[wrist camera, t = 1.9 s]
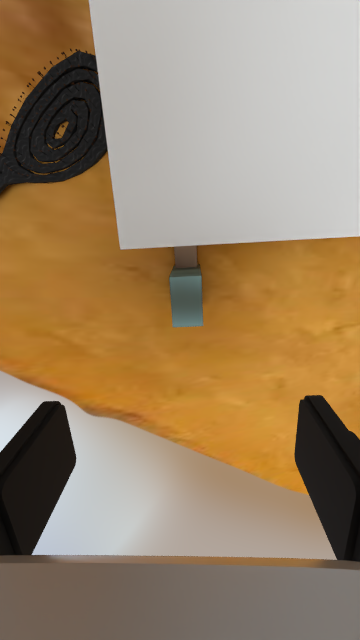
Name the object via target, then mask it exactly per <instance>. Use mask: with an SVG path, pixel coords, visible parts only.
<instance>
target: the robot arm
mask: <svg viewBox="0 0 360 640" xmlns="http://www.w3.org/2000/svg"><path fill="white" fill-rule="evenodd" d="M295 462H296V465H297V468H298V470H299V472H300V474H301V477H302V479H303V481H304V484H305V486H306V488H307V491H308V493H309V495H310V498H311V500H312V502H313V505H314V507H315V509H316V512H317V514H318V516H319V518H320V521H321V523H322V526H323V528H324V530H325V532H326V535H327V537H328V540H329V542H330V544H331V547H332V549H333V551H334V553H335V556H336V558H337V560H324V559H298V558H297V559H296V558H253V557H198V556H196V557H195V556H115V555H32V553H33V550H34V549H35V546H36V545H37V542H38V540H39V538H40V536H41V534H42V532H43V530H44V528H45V526H46V524H47V522H48V520H49V518H50V516H51V514H52V512H53V510H54V508H55V506H56V504H57V502H58V500H59V497H60V495H61V493H62V491H63V489H64V487H65V485H66V483H67V481H68V479H69V477H70V474H71V473H72V471H73V469H74V467H75V463H76V454H75V450H74V445H73V441H72V437H71V432H70V427H69V423H68V419H67V414H66V410H65V406H64V405H61V403H60V402H59V401H46V402H43V403H42V404H41V405H40V406H39V407H38V408H37V410H36V411H35V412H34V413H33V414H32V416H31V417H30V418H29V419H28V420H27V421H26V423H25V424H24V425H23V426H22V428H21V429H20V430H19V431H18V432H17V433H16V435H15V436H14V437H13V438H12V439H11V441H10V442H9V443H8V444H7V445H6V446H5V448H4V449H3V450H2V451H1V452H0V640H360V440H359V438H358V437H357V436H356V435H355V434H354V433H353V432H351V431H349V430H348V429H347V428H346V426H345V425H344V424H343V422H342V421H341V420H340V418H339V417H338V416H337V414H336V413H335V412H334V410H333V409H332V408H331V407H330V405H329V404H328V403H327V401H326V400H325V399H324V397H323V396H321V395H312V396H305V398H304V400H300V403H299V413H298V424H297V434H296V444H295Z"/></svg>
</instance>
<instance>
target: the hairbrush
mask: <svg viewBox="0 0 360 640" xmlns="http://www.w3.org/2000/svg"><path fill="white" fill-rule="evenodd" d="M70 51H72V50H71V49H70ZM76 51H77V49H76ZM85 52H86V53H84V52H81V51H80V50H79V51H77V52H76V53H73V55H71V56H69V57H68V58H66V57H67V56H66V55H65V53H64V52H63V53H61V54H64V55H65V56H66V57H65V58H66V59H65V60H63V61H60V63H58V64H57V65H55V66H54V65H53V67H52V68H51V69H50V70H49V71H48V73H47V74H46V75H45V76H43V75H42V74H41V73H40V71H39V72H37V73H38V74H39V75H40V74H41V75H42V76H43V77H42V76H41V75H40V76H41V77H42V78H43V79H42V80H41V81H40V82H39V83H38V85H37V86H36V87H35V88H34V87H33V86H32V85H31V84H30V83H29V85H31V86H32V87H33V88H34V89H33V91H32V92H31V93H30V94H29V95H28V97H27V98H26V99H25V101H24V103H23V105H22V107H21V109H20V110H19V112H18V114H17V116H16V118H15V117H14V116H13V115H12V114H10V115H11V116H13V117H14V118H15V120H14V122H13V124H12V125H11V124H10V125H11V129H10V132H9V135H8V138H7V141H6V144H5V148H4V151H3V153H2V154H1V153H0V193H1V192H2V191H3V190H4V189H5V188H6V187H7V186H8V185H12V184H19V183H26V182H30V183H46V182H53V183H54V182H60V181H65V180H67V179H70V178H72V177H75V176H77V175H80V174H82V173H83V172H85V171H86V170H87V169H89V168H90V167H92V166H93V165H94V164H96V163H97V162H98V161H99V160H100V159H101V157H102V156H103V155H104V154H105V153H106V152H107V150H108V148H107V140H106V132H105V124H104V116H103V109H102V101H101V96H100V93H99V92H98V90H97V89H96V88H95V87H94V85H91V84H95V85H96V86H97V88H98V89H99V90H100V85H99V77H98V75H97V74H96V73H95V72H98V69H97V61H96V56H94V55H91V54H87V51H86V50H85ZM57 59H59V58H58V57H57ZM50 63H51V64H52V62H51V61H50ZM44 69H46V68H45V67H44ZM83 69H86V70H83ZM89 70H91V71H89ZM93 71H95V72H93ZM32 80H33V81H34V79H32ZM83 82H88V83H91V84H87V83H83ZM29 85H27V87H29ZM22 93H23V94H25V93H24V92H22ZM20 97H21V98H22V96H20ZM23 99H24V98H23ZM82 99H83V100H85V101H86V102H87V103H85V102H84V101H77V100H82ZM18 101H20V100H19V99H18ZM20 102H21V101H20ZM87 104H88V105H87ZM64 106H65V107H64ZM63 107H64V108H63ZM14 108H16V107H15V106H14ZM17 110H18V109H17ZM13 111H14V109H13ZM74 112H75V113H74ZM76 114H77V115H78V116H77V115H76ZM40 119H41V120H40ZM39 120H40V121H39ZM66 121H68V122H69V124H68V126H67V128H66V129H65V133H64V135H63V137H62V138H59V139H55V138H54V137H55V134H56V132H57V130H58V128H59V126H60V124H62V123H64V122H66ZM38 122H39V123H38ZM7 123H8V122H7V121H6V124H7ZM8 124H9V123H8ZM10 125H9V126H10ZM63 127H64V125H62V128H63ZM3 131H5V130H4V129H3ZM57 134H59V133H58V132H57ZM59 135H60V134H59ZM84 135H85V136H84ZM60 136H61V135H60ZM1 139H3V138H2V137H1ZM47 143H48V144H49V145H50V146H51V147H52V149H51V148H50V147H48V144H47ZM63 145H64V146H63ZM60 146H63V147H61V148H59V149H58V147H60ZM0 147H1V146H0ZM54 148H55V149H56V148H57V149H56V150H54ZM75 148H76V149H75ZM74 149H75V150H74ZM70 152H71V153H70ZM69 153H70V154H69ZM33 155H34V156H35V157H36V158H37V160H38V161H42V162H54V161H58V160H60V159H61V160H60V161H59V162H57V163H55V162H54V163H47V164H42V163H40V162H38V161H37V160H36V159H34V158H35V157H34V156H33ZM65 156H66V157H65ZM84 156H85V157H84ZM63 157H64V158H63ZM83 157H84V158H83ZM62 158H63V159H62ZM82 158H83V159H82ZM81 159H82V160H81ZM78 161H79V162H78ZM76 162H77V163H76ZM75 163H76V164H75ZM21 164H22V165H23V166H22V165H21ZM73 164H74V165H73ZM71 165H72V166H71ZM70 166H71V167H70ZM67 167H69V168H68V169H66V170H65V171H61V172H58V171H60V170H63V169H65V168H67ZM28 169H29V170H28ZM30 170H32V171H34V172H36V173H50V174H48V175H39V174H34V173H33V172H31V171H30ZM56 171H57V173H52V172H56Z"/></svg>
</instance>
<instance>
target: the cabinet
mask: <svg viewBox="0 0 360 640" xmlns="http://www.w3.org/2000/svg"><path fill="white" fill-rule="evenodd" d="M89 6H90V14H91V22H92V30H93V38H94V45H95V53H96V61H97V69H98V77H99V85H100V93H101V101H102V109H103V116H104V124H105V132H106V140H107V148H108V156H109V164H110V172H111V180H112V187H113V195H114V203H115V211H116V219H117V227H118V235H119V243H120V250H122V249H139V248H157V247H175V246H193V245H211V244H229V243H247V242H265V241H283V240H300V239H318V238H336V237H354V236H360V0H89Z"/></svg>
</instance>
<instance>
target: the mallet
mask: <svg viewBox="0 0 360 640" xmlns="http://www.w3.org/2000/svg"><path fill="white" fill-rule="evenodd" d="M174 251H175V266H174V267H173V269H172V272H171V274H170V277H169V280H170V294H171V308H172V322H173V327H191V326H203V307H202V276H201V270H200V264H198V265H197V246H196V245H193V246H175V247H174Z"/></svg>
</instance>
